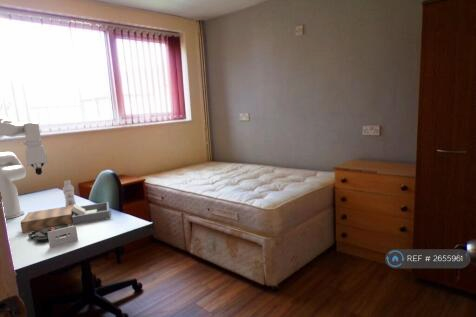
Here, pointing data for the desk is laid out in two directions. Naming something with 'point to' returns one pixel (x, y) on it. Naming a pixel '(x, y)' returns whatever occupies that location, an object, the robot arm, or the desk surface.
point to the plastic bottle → (68, 193)
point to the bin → (101, 213)
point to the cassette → (62, 240)
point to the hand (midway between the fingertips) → (39, 174)
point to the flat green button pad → (43, 235)
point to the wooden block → (46, 219)
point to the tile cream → (78, 209)
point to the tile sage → (90, 211)
